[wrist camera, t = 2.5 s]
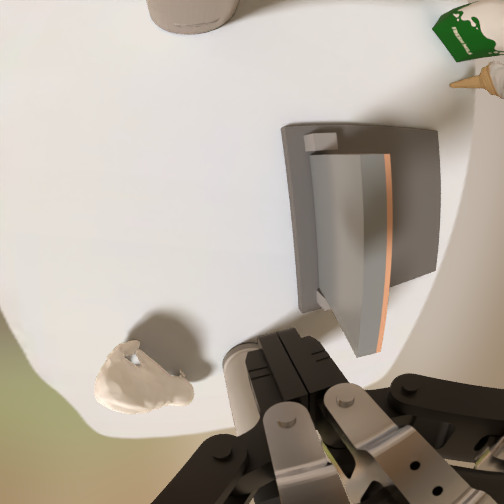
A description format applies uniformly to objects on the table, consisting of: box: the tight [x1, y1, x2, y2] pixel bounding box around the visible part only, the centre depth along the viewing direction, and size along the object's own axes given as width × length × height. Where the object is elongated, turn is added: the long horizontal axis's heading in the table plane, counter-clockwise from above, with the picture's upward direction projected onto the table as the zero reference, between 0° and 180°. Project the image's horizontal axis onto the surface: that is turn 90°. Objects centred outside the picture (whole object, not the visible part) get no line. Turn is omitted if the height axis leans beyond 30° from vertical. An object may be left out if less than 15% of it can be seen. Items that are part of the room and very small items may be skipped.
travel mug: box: [222, 343, 281, 504], centre depth 23 cm, size 6×7×20 cm
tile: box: [309, 154, 393, 358], centre depth 21 cm, size 14×2×12 cm, turn 8°
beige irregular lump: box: [94, 340, 194, 414], centre depth 26 cm, size 6×8×12 cm
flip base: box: [281, 125, 441, 313], centre depth 28 cm, size 20×22×3 cm
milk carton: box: [432, 0, 504, 62], centre depth 15 cm, size 9×9×20 cm
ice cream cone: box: [450, 61, 504, 99], centre depth 20 cm, size 6×6×15 cm
